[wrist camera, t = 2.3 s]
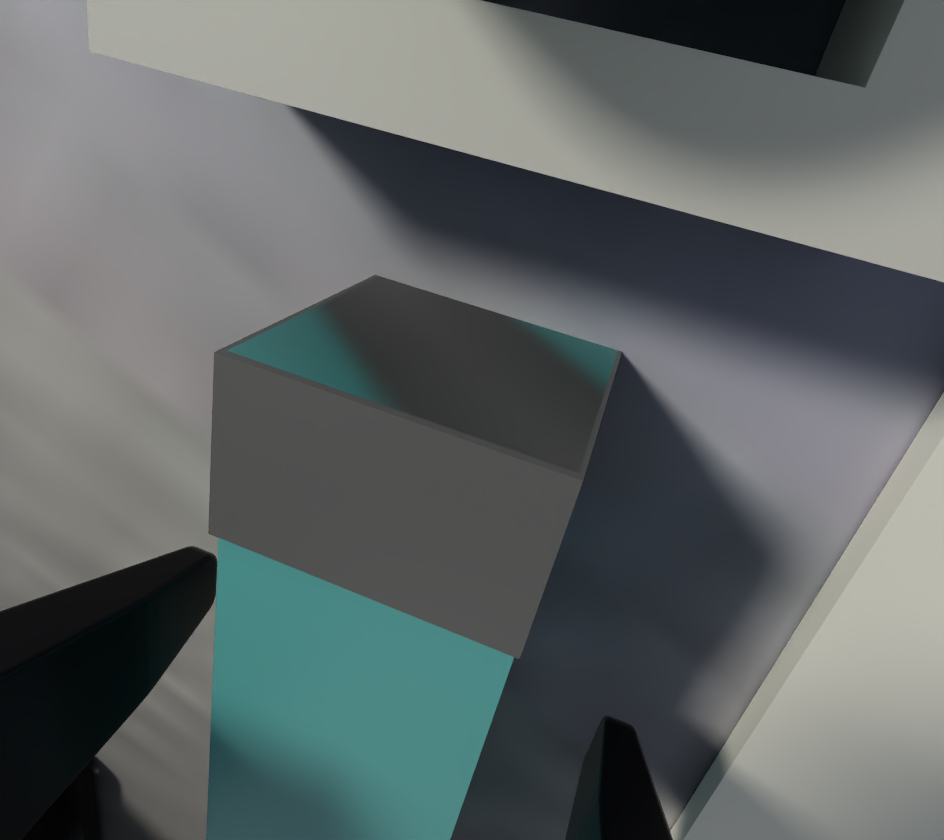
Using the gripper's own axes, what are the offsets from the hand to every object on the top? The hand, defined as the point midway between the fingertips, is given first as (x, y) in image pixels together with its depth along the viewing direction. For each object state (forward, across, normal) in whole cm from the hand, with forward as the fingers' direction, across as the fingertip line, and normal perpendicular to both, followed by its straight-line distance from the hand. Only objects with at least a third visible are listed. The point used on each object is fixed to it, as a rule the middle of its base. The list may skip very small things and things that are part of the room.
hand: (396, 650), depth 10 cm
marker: (+1, 0, 0) cm, 1 cm away
